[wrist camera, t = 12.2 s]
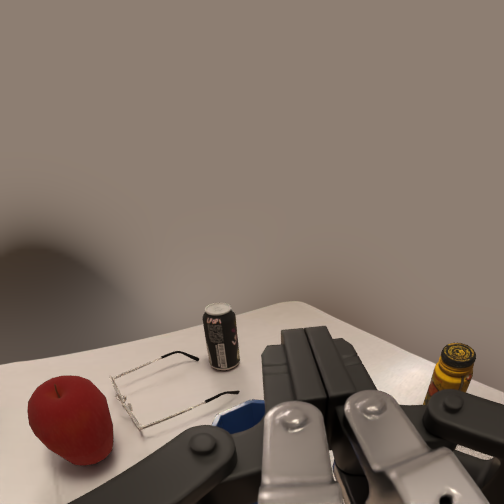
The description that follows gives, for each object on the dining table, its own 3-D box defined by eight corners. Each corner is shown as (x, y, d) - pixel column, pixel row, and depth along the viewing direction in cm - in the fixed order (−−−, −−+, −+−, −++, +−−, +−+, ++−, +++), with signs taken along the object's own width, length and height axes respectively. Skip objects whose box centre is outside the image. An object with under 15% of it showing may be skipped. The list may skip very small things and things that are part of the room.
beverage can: (230, 352, 58) (223, 298, 55) (246, 365, 54) (240, 308, 51) (204, 362, 55) (195, 306, 52) (219, 376, 50) (211, 318, 47)
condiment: (408, 416, 35) (427, 351, 32) (438, 390, 39) (456, 329, 35) (442, 439, 29) (471, 374, 26) (470, 409, 32) (495, 346, 29)
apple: (102, 416, 39) (74, 348, 35) (144, 455, 32) (113, 384, 29) (46, 446, 29) (6, 379, 26) (79, 495, 23) (27, 428, 19)
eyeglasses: (109, 389, 46) (101, 368, 44) (195, 357, 57) (191, 336, 56) (142, 446, 34) (131, 424, 32) (245, 397, 45) (243, 374, 43)
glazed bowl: (329, 477, 27) (337, 437, 25) (250, 524, 22) (243, 494, 20) (274, 430, 37) (273, 388, 35) (203, 464, 31) (190, 423, 29)
